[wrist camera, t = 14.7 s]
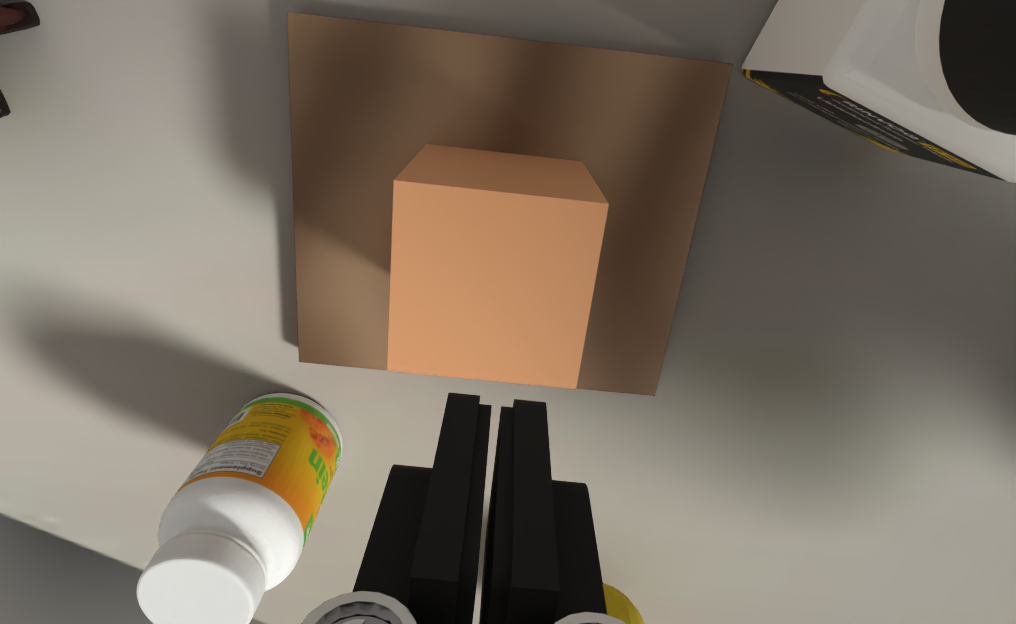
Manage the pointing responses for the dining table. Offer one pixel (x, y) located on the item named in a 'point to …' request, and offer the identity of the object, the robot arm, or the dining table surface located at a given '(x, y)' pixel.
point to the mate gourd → (15, 29)
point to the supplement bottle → (242, 514)
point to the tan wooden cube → (493, 266)
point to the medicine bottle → (901, 74)
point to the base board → (500, 128)
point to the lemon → (620, 606)
